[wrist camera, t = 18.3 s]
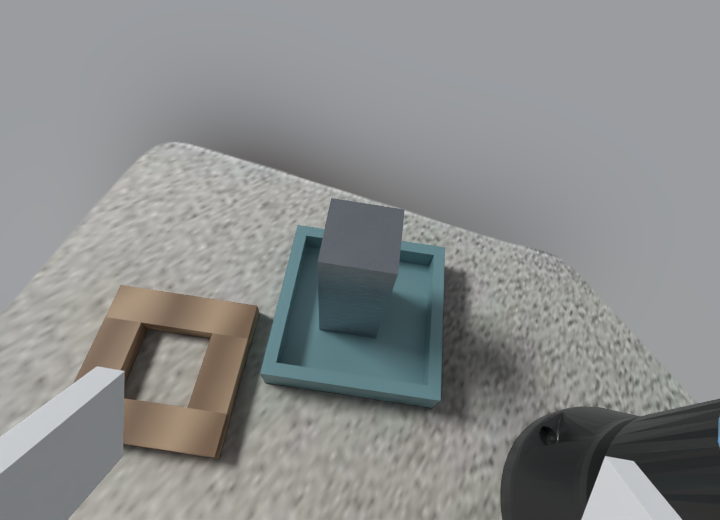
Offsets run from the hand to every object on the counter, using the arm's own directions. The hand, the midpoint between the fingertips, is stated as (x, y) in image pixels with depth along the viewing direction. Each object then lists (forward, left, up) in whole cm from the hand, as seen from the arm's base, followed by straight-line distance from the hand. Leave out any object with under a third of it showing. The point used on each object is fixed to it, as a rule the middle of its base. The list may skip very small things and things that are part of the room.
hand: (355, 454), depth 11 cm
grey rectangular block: (+1, -14, -21) cm, 25 cm away
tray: (0, -13, -22) cm, 26 cm away
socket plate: (+15, -6, -22) cm, 28 cm away
